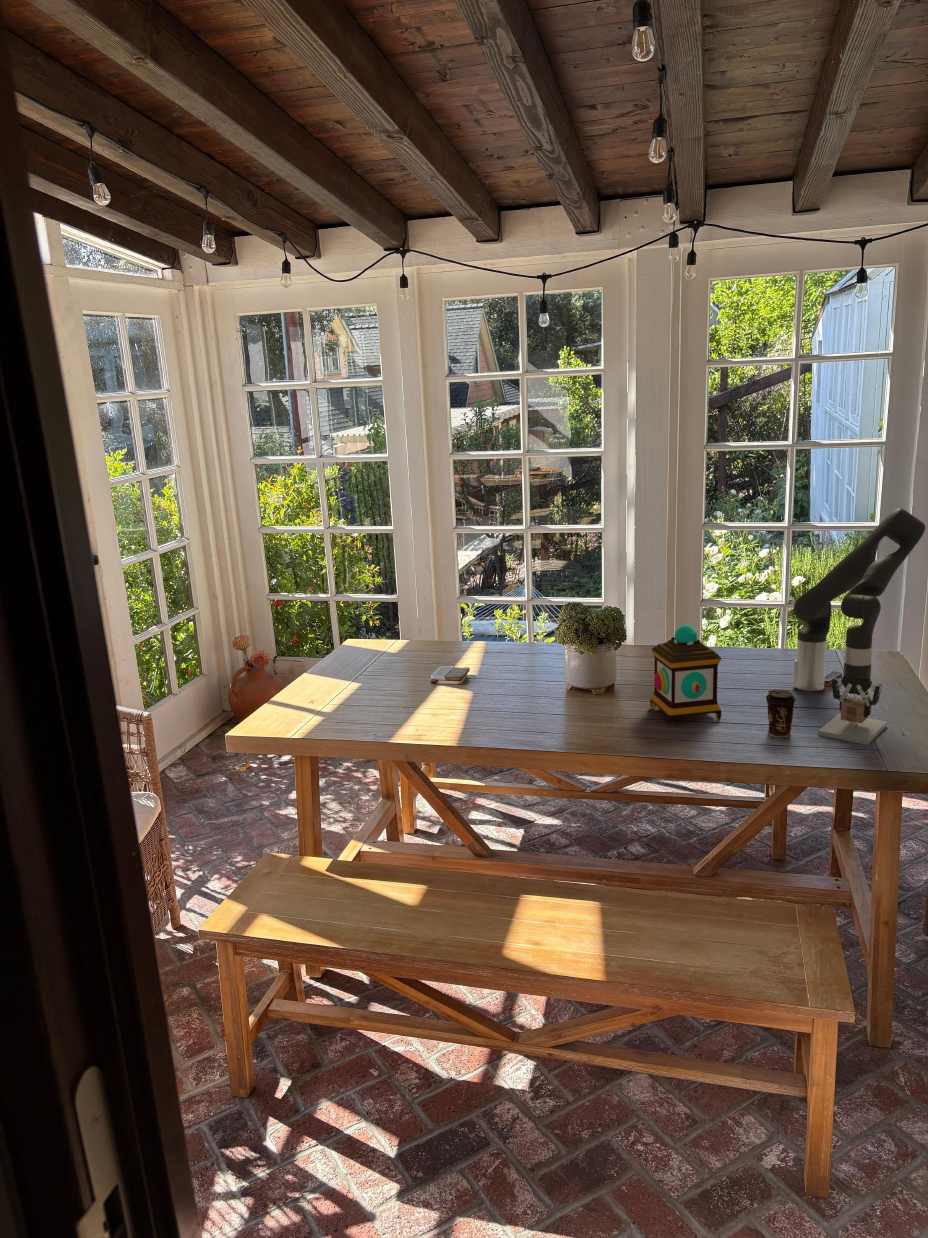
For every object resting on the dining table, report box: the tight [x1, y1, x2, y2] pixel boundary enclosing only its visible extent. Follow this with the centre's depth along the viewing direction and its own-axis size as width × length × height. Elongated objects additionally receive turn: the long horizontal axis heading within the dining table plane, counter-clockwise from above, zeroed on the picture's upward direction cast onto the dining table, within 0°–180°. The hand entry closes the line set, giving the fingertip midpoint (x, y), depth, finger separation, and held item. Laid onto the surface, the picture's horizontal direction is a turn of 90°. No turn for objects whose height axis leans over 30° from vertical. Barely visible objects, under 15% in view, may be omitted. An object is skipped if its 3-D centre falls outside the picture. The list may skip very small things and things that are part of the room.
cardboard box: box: [840, 695, 870, 723], centre depth 271 cm, size 7×6×6 cm
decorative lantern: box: [649, 624, 722, 726], centre depth 289 cm, size 20×20×30 cm
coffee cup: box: [765, 689, 796, 739], centre depth 272 cm, size 9×8×13 cm
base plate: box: [818, 712, 888, 746], centre depth 272 cm, size 14×18×2 cm
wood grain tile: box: [848, 721, 858, 728], centre depth 272 cm, size 1×4×4 cm, turn 140°
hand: (854, 714), depth 271 cm, fingers closed on cardboard box, 6 cm apart
